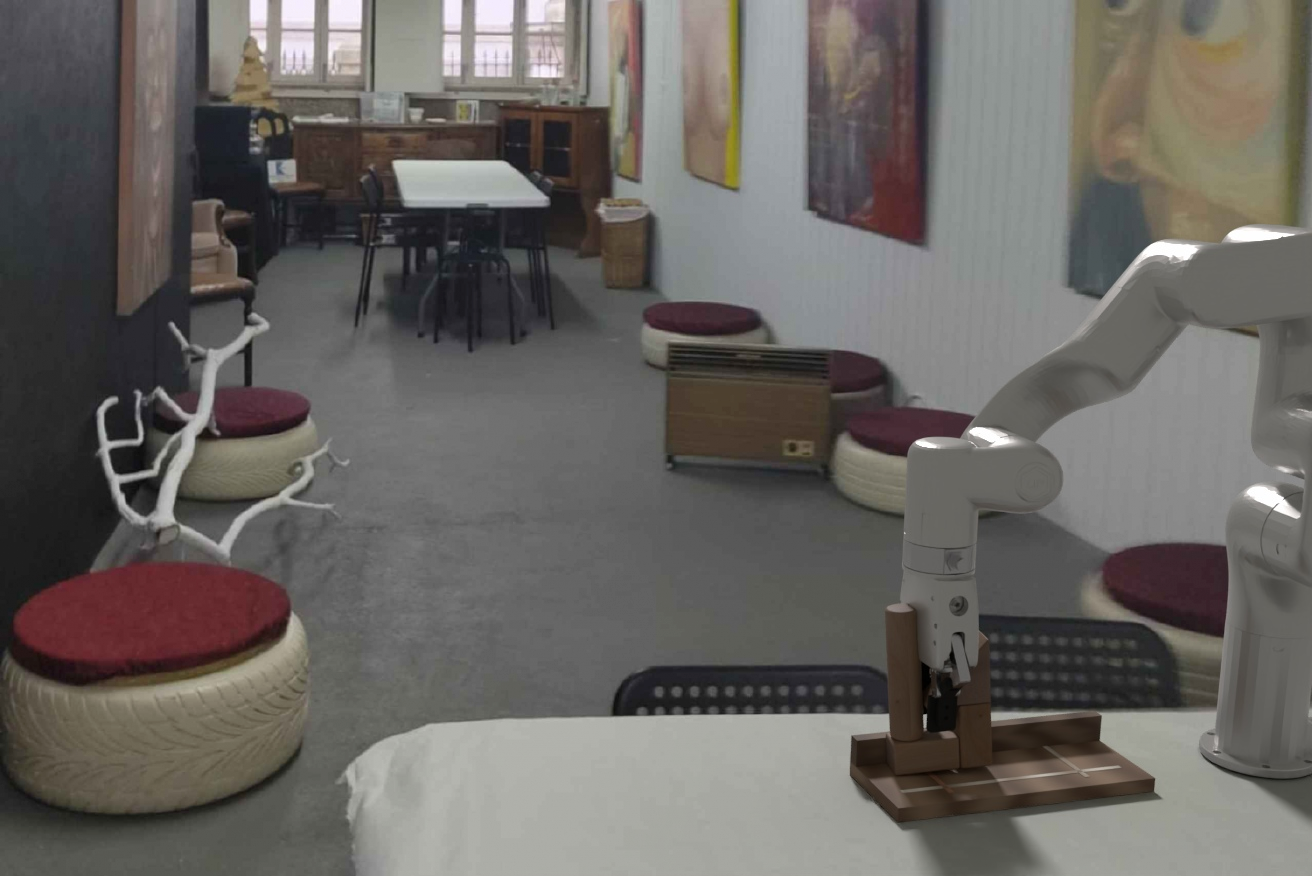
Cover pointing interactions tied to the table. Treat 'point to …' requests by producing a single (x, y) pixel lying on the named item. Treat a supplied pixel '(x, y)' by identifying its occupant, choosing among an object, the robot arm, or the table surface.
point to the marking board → (1005, 770)
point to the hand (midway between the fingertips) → (930, 720)
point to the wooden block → (907, 736)
